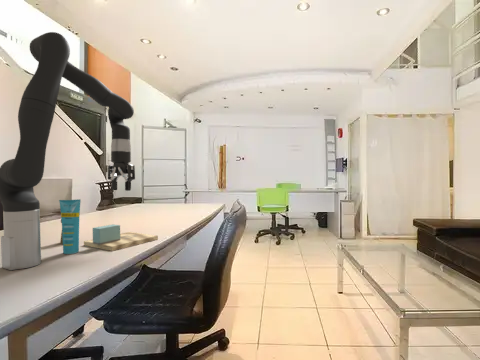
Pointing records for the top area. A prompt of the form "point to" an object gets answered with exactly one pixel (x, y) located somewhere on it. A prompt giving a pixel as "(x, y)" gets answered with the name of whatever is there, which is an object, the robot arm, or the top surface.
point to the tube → (70, 225)
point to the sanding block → (106, 234)
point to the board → (124, 241)
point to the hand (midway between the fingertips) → (121, 190)
